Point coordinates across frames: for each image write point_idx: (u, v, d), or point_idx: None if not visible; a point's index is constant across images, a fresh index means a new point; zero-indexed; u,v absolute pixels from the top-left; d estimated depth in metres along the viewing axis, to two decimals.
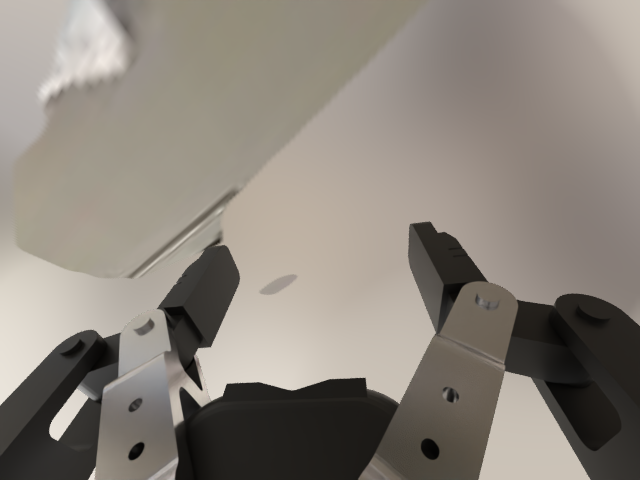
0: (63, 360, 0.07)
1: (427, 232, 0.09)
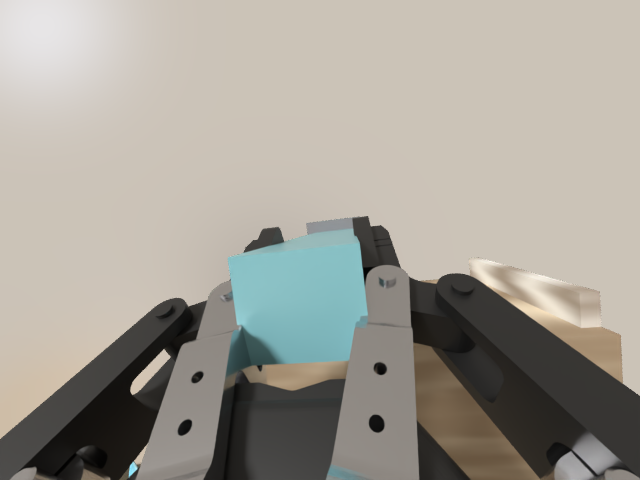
0: (155, 323, 0.07)
1: (362, 225, 0.10)
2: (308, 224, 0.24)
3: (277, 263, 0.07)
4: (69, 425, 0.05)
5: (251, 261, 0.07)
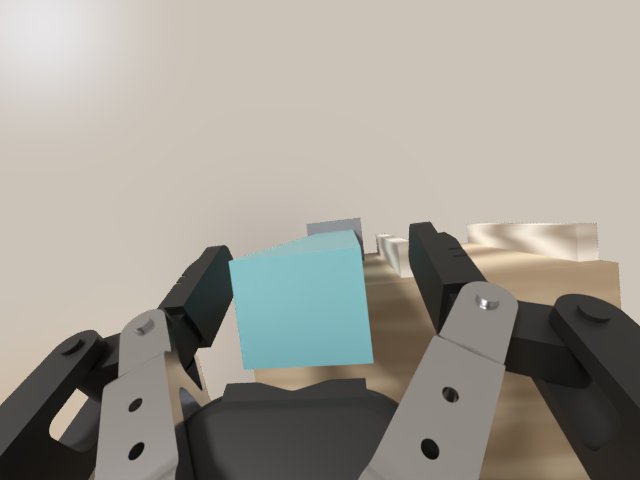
0: (63, 360, 0.07)
1: (427, 232, 0.09)
2: (308, 225, 0.24)
3: (278, 267, 0.07)
4: None
5: (252, 265, 0.07)
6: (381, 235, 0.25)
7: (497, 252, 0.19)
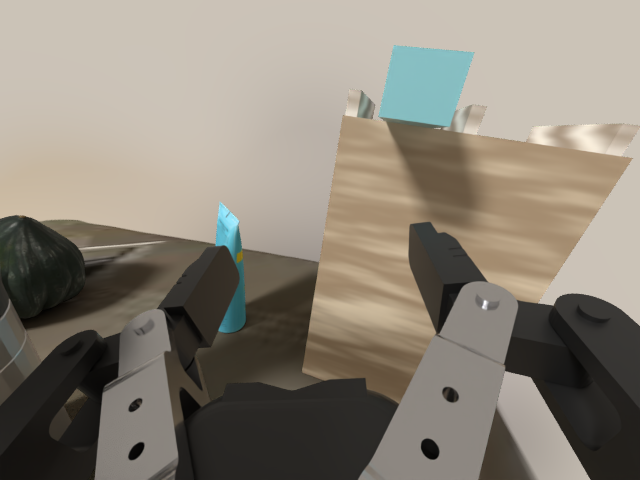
0: (63, 360, 0.07)
1: (427, 232, 0.09)
2: None
3: (421, 55, 0.12)
4: None
5: (406, 51, 0.12)
6: None
7: None
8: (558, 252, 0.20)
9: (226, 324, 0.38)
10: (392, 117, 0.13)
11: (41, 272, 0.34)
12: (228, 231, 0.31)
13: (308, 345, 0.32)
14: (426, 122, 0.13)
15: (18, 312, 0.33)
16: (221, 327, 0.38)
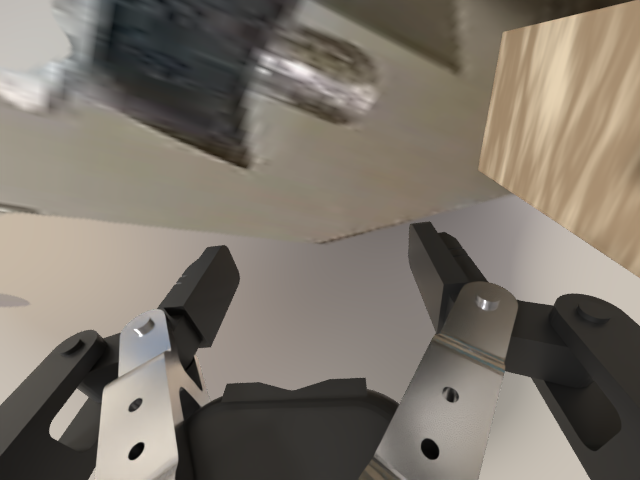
0: (63, 360, 0.07)
1: (427, 232, 0.09)
2: None
3: None
4: None
5: None
6: None
7: None
8: (594, 239, 0.26)
9: None
10: None
11: None
12: None
13: (526, 29, 0.31)
14: None
15: None
16: None
